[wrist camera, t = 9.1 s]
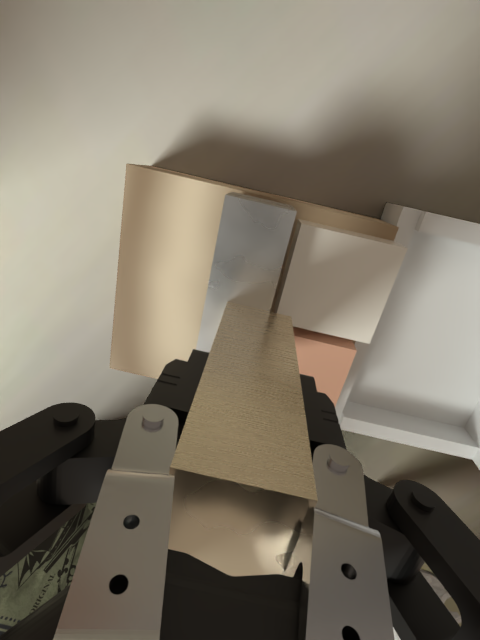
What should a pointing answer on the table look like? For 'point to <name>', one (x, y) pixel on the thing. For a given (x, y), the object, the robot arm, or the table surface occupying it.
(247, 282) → the scraper
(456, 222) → the box
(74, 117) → the table surface
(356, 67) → the table surface
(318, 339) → the terracotta tile
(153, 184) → the tan flat block
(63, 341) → the table surface
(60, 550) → the brown rum bottle
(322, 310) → the offwhite tile
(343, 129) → the table surface
